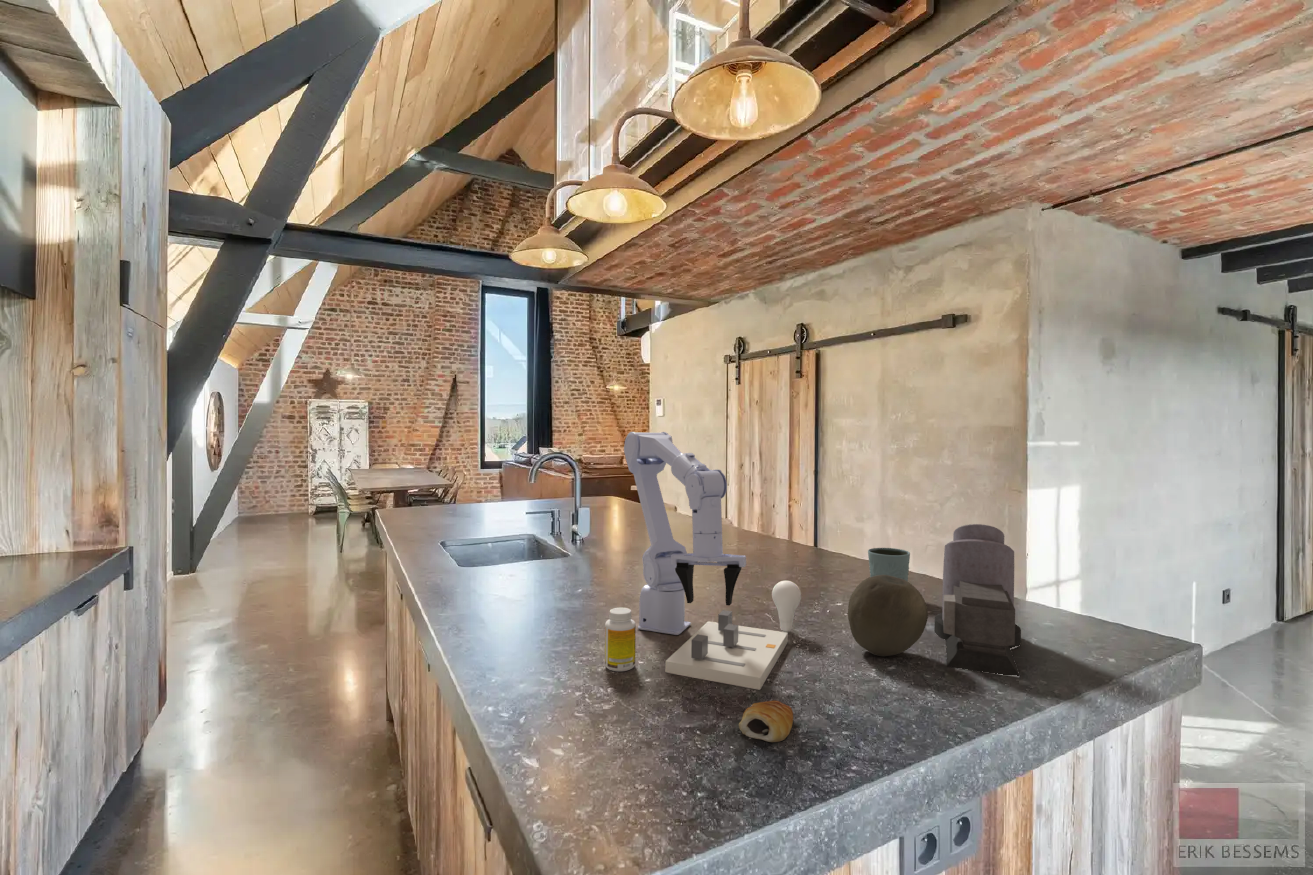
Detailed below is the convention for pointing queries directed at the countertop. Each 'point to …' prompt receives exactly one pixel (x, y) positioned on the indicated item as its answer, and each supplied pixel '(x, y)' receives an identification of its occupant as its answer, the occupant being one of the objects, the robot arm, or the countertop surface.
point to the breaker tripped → (730, 635)
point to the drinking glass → (889, 562)
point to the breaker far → (724, 619)
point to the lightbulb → (786, 602)
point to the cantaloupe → (886, 615)
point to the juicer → (979, 601)
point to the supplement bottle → (620, 640)
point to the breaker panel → (731, 656)
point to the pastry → (767, 721)
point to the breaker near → (699, 646)
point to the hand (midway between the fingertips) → (709, 603)
